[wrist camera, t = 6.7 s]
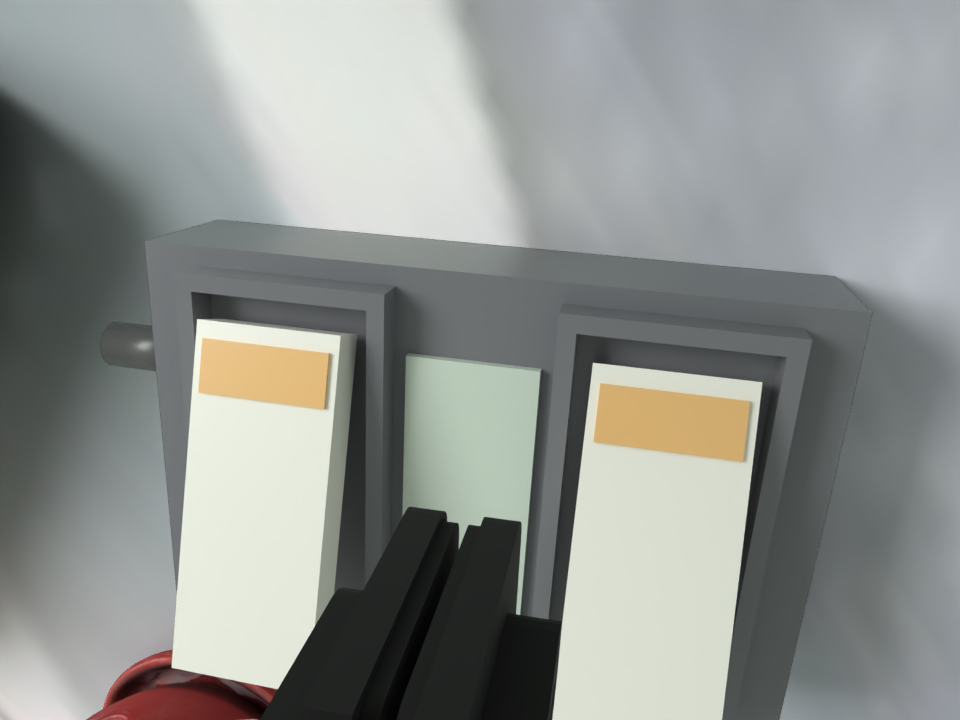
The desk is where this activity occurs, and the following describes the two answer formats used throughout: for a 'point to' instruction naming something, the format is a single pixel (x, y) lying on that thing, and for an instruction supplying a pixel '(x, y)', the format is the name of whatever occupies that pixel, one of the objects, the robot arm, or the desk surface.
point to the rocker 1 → (261, 496)
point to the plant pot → (180, 695)
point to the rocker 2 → (656, 545)
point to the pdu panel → (524, 391)
